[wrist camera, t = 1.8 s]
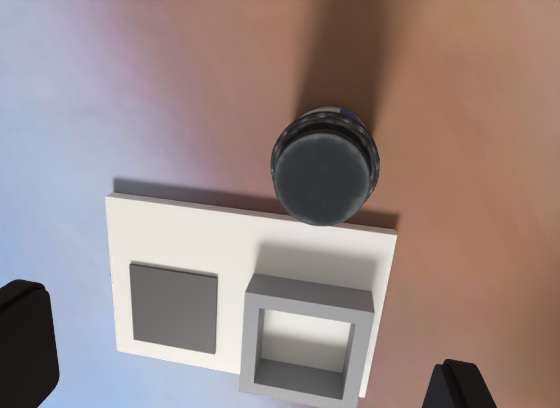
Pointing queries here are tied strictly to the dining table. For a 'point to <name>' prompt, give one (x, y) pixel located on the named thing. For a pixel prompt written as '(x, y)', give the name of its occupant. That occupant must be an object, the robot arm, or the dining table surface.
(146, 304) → the socket board
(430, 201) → the dining table surface
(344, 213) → the pill bottle
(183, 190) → the dining table surface
